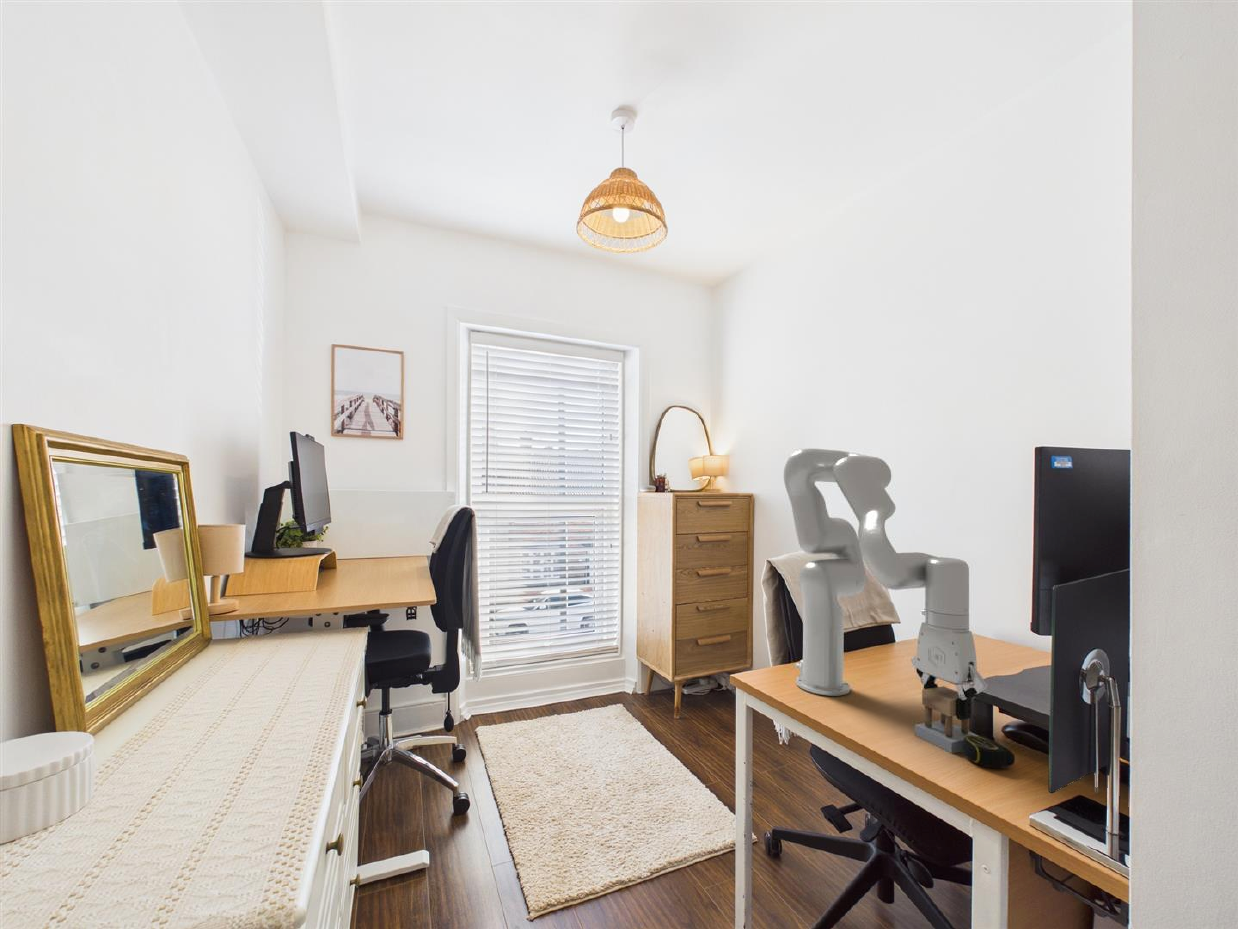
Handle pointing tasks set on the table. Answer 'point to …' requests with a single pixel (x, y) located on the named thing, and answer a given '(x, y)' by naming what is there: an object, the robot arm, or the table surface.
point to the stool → (942, 707)
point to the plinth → (942, 736)
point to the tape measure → (987, 752)
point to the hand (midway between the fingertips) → (946, 710)
